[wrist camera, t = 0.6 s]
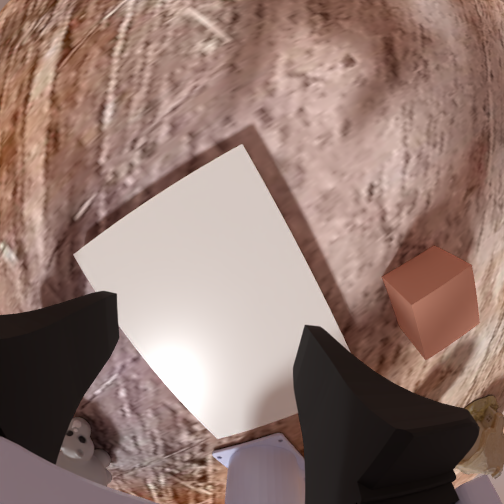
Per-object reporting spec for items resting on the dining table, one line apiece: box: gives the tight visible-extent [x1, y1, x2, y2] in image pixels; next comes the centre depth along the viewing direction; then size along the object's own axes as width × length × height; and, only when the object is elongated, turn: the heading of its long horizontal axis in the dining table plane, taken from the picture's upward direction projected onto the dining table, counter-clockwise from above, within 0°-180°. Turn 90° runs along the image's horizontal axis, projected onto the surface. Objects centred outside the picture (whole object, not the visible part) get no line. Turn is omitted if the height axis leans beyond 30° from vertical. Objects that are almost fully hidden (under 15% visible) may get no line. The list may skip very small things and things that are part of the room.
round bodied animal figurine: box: [56, 417, 112, 487], centre depth 23 cm, size 7×12×8 cm, turn 166°
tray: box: [73, 144, 351, 439], centre depth 21 cm, size 20×14×2 cm
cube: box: [382, 245, 480, 360], centre depth 18 cm, size 5×5×5 cm
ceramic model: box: [456, 396, 504, 479], centre depth 22 cm, size 14×11×10 cm
